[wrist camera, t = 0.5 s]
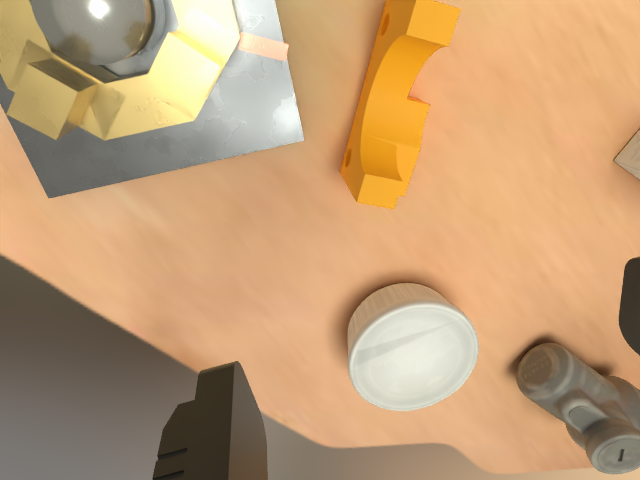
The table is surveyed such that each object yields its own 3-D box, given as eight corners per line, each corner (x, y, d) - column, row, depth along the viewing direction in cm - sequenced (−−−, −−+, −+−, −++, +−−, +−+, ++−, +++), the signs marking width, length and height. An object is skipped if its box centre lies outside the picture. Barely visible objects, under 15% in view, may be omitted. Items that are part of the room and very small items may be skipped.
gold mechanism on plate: (-121, -168, 23) (-272, -242, 16) (228, -238, 24) (218, -337, 17) (57, 190, 32) (6, 236, 26) (305, 134, 33) (319, 165, 26)
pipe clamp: (391, 181, 36) (418, 213, 30) (339, 171, 35) (356, 202, 29) (445, 17, 31) (489, 17, 25) (385, -1, 30) (417, -5, 24)
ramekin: (388, 249, 38) (406, 282, 34) (479, 304, 42) (507, 340, 37) (313, 342, 42) (321, 383, 37) (405, 384, 46) (422, 427, 41)
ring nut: (-55, -103, 23) (-163, -144, 17) (193, -154, 24) (173, -212, 18) (60, 142, 29) (9, 175, 23) (256, 98, 30) (257, 119, 24)
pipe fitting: (626, 371, 48) (697, 455, 39) (564, 414, 51) (617, 501, 42) (554, 312, 45) (613, 387, 36) (492, 361, 48) (532, 443, 38)
